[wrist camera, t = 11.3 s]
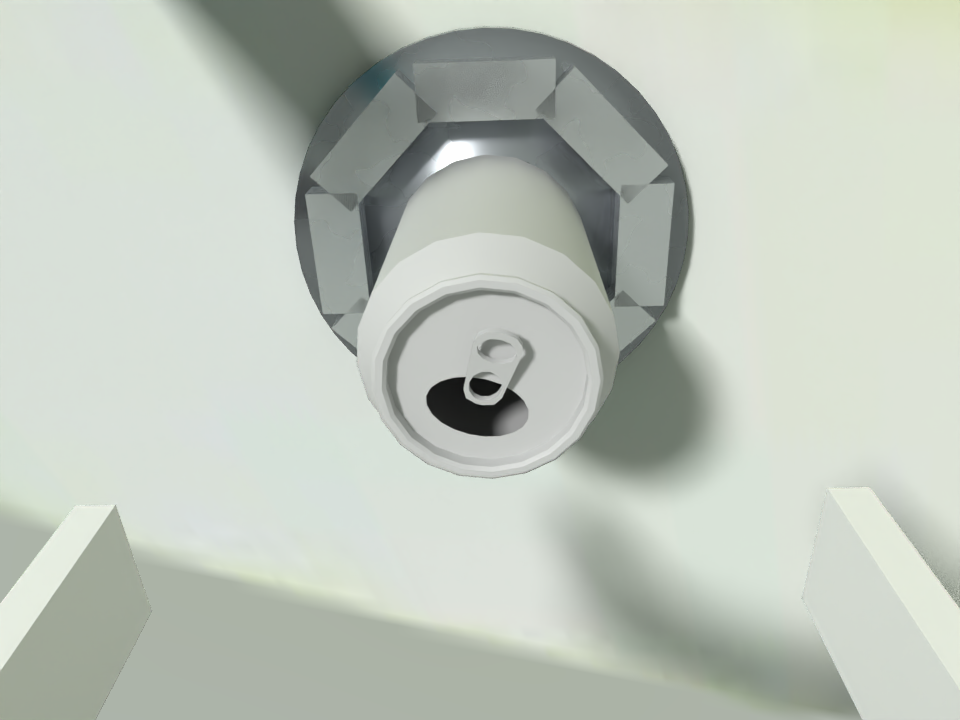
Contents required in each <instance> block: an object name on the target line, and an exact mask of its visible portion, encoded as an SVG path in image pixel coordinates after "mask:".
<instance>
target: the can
mask: <svg viewBox="0 0 960 720" xmlns="http://www.w3.org/2000/svg"><path fill="white" fill-rule="evenodd" d="M619 354H620V352H619V345H618V339H617V332H616V325H615V319H614V314H613V312H612V309H611V306H610V303H609V300H608V297H607V294H606V291H605V288H604V285H603V282H602V279H601V276H600V273H599V270H598V267H597V264H596V262H595V259H594V256H593V253H592V250H591V247H590V244H589V241H588V238H587V235H586V232H585V229H584V226H583V223H582V220H581V217H580V215H579V213H578V212H577V210H576V208H575V206H574V204H573V202H572V200H571V199H570V197H569V195H568V193H567V191H566V190H565V189H564V188H563V187H562V186H561V185H559V184H558V183H557V182H556V181H555V180H554V179H553V178H552V177H551V176H550V175H549V174H548V173H547V172H545V171H544V170H542V169H540V168H538V167H536V166H533V165H531V164H529V163H527V162H525V161H522V160H520V159H518V158H514V157H505V156H495V155H480V156H476V157H471V158H467V159H462V160H458V161H454V162H452V163H451V164H449V165H447V166H446V167H444V168H442V169H441V170H439V171H437V172H436V173H434V174H432V175H431V176H429V177H428V178H427V179H426V180H425V181H424V182H423V184H422V185H421V186H420V187H419V188H418V189H417V191H416V192H415V193H414V194H413V195H412V196H411V198H410V199H409V200H408V203H407V205H406V208H405V210H404V213H403V216H402V218H401V221H400V223H399V226H398V228H397V231H396V233H395V236H394V238H393V241H392V243H391V246H390V248H389V251H388V253H387V256H386V258H385V261H384V263H383V266H382V268H381V271H380V273H379V276H378V278H377V281H376V283H375V286H374V288H373V291H372V293H371V296H370V298H369V301H368V304H367V306H366V309H365V311H364V314H363V316H362V319H361V321H360V324H359V326H358V340H357V367H358V369H359V372H360V375H361V378H362V381H363V384H364V387H365V390H366V393H367V396H368V399H369V401H370V402H371V403H372V405H373V406H374V407H375V408H376V410H377V411H378V412H379V415H380V418H381V420H382V421H383V423H384V424H385V425H386V426H387V428H388V429H389V430H390V432H391V433H392V434H393V436H394V437H395V438H396V440H397V441H398V442H399V444H400V445H401V446H403V447H404V448H406V449H407V450H408V451H410V452H411V453H413V454H414V455H415V456H417V457H418V458H420V459H421V460H422V461H424V462H425V463H427V464H429V465H431V466H434V467H437V468H440V469H442V470H445V471H448V472H451V473H453V474H456V475H459V476H470V477H481V478H492V479H493V478H499V477H505V476H511V475H517V474H523V473H527V472H530V471H532V470H534V469H536V468H538V467H540V466H543V465H545V464H547V463H549V462H551V461H554V460H556V459H557V458H558V457H560V456H561V455H562V454H563V453H564V452H565V451H567V450H568V449H569V448H570V447H571V446H572V445H573V444H575V443H576V442H577V441H578V440H579V439H580V438H581V437H582V436H583V434H584V432H585V431H586V429H587V427H588V426H589V424H590V423H591V422H592V421H593V420H594V419H595V417H596V415H597V414H598V412H599V410H600V409H601V407H602V405H603V404H604V402H605V400H606V399H607V397H608V395H609V394H610V392H611V390H612V388H613V383H614V378H615V374H616V369H617V364H618V359H619Z"/></svg>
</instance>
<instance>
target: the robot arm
mask: <svg viewBox="0 0 960 720" xmlns="http://www.w3.org/2000/svg"><path fill="white" fill-rule="evenodd" d="M802 600H803V602H804V604H805V606H806V608H807V610H808V612H809V614H810V616H811V618H812V620H813V622H814V624H815V626H816V628H817V630H818V632H819V634H820V636H821V638H822V640H823V642H824V644H825V646H826V648H827V650H828V652H829V654H830V656H831V658H832V660H833V662H834V664H835V666H836V668H837V670H838V672H839V674H840V676H841V678H842V680H843V682H844V684H845V686H846V688H847V690H848V692H849V694H850V696H851V698H852V700H853V702H854V704H855V706H856V708H857V710H858V712H859V714H860V716H861V718H862V720H960V608H959V607H958V606H957V604H956V603H955V602H954V600H953V599H952V597H951V596H950V595H949V593H948V592H947V591H946V589H945V588H944V587H943V585H942V584H941V583H940V581H939V580H938V579H937V577H936V576H935V574H934V573H933V572H932V570H931V569H930V568H929V566H928V565H927V564H926V562H925V561H924V560H923V558H922V557H921V556H920V554H919V553H918V551H917V550H916V549H915V547H914V546H913V545H912V543H911V542H910V541H909V539H908V538H907V537H906V535H905V534H904V533H903V531H902V530H901V529H900V527H899V526H898V524H897V523H896V522H895V520H894V519H893V518H892V516H891V515H890V514H889V512H888V511H887V510H886V508H885V507H884V506H883V504H882V503H881V501H880V500H879V499H878V497H877V496H876V495H875V493H874V492H873V491H872V489H871V488H870V487H844V488H827V491H826V495H825V499H824V504H823V508H822V512H821V516H820V521H819V525H818V529H817V534H816V538H815V542H814V547H813V551H812V555H811V559H810V564H809V568H808V572H807V577H806V581H805V585H804V590H803V594H802ZM151 612H152V610H151V607H150V604H149V601H148V598H147V595H146V592H145V590H144V587H143V584H142V581H141V578H140V575H139V572H138V569H137V566H136V563H135V560H134V557H133V554H132V551H131V549H130V546H129V543H128V540H127V537H126V534H125V531H124V528H123V525H122V522H121V519H120V516H119V513H118V510H117V508H116V505H85V506H74V508H73V509H72V510H71V512H70V513H69V514H68V516H67V517H66V518H65V519H64V521H63V522H62V523H61V525H60V526H59V527H58V529H57V530H56V531H55V533H54V534H53V535H52V536H51V538H50V539H49V540H48V542H47V543H46V544H45V546H44V547H43V548H42V549H41V551H40V552H39V553H38V555H37V556H36V557H35V559H34V560H33V561H32V563H31V564H30V565H29V566H28V568H27V569H26V570H25V572H24V573H23V575H22V576H21V577H20V578H19V579H18V581H17V582H16V583H15V585H14V586H13V587H12V589H11V590H10V591H9V593H8V594H7V595H6V596H5V598H4V599H3V600H2V602H1V603H0V720H96V718H97V716H98V714H99V712H100V710H101V708H102V706H103V704H104V702H105V701H106V699H107V697H108V695H109V693H110V691H111V689H112V687H113V685H114V683H115V681H116V679H117V677H118V676H119V674H120V672H121V669H122V668H123V666H124V664H125V662H126V660H127V658H128V656H129V654H130V653H131V651H132V649H133V647H134V645H135V643H136V641H137V639H138V637H139V635H140V633H141V631H142V630H143V628H144V626H145V623H146V622H147V620H148V618H149V616H150V614H151Z"/></svg>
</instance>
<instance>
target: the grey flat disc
mask: <svg viewBox="0 0 960 720" xmlns="http://www.w3.org/2000/svg"><path fill="white" fill-rule="evenodd" d="M480 155H495V156H505V157H514V158H518V159H520V160H522V161H525V162H527V163H529V164H531V165H533V166H536V167H538V168H540V169H542V170H544V171H545V172H547V173H548V174H549V175H550V176H551V177H552V178H553V179H554V180H555V181H556V182H557V183H558V184H559V185H561V186H562V187H563V188H564V189H565V190H566V191H567V193H568V195H569V197H570V199H571V200H572V202H573V204H574V206H575V208H576V210H577V212H578V213H579V215H580V217H581V220H582V223H583V226H584V229H585V232H586V235H587V238H588V241H589V244H590V247H591V250H592V253H593V256H594V259H595V262H596V264H597V267H598V270H599V273H600V276H601V279H602V282H603V285H604V288H605V291H606V294H607V297H608V300H609V303H610V306H611V309H612V312H613V314H614V319H615V325H616V332H617V339H618V345H619V352H620V354H619V359H618V364H619V363H620V362H621V361H623V360H624V359H625V358H626V357H627V356H628V355H629V354H630V353H631V352H632V351H633V350H634V349H635V348H636V347H637V346H638V345H639V344H640V343H641V342H642V340H643V339H644V338H645V337H646V335H647V334H648V333H649V332H650V330H651V329H652V328H653V327H654V325H655V324H656V322H657V320H658V319H659V317H660V316H661V314H662V312H663V311H664V309H665V308H666V306H667V304H668V301H669V299H670V297H671V295H672V293H673V291H674V288H675V286H676V284H677V281H678V277H679V274H680V271H681V268H682V265H683V261H684V256H685V250H686V244H687V238H688V202H687V193H686V185H685V181H684V177H683V173H682V169H681V165H680V161H679V158H678V156H677V153H676V151H675V149H674V146H673V144H672V141H671V139H670V136H669V135H668V133H667V131H666V129H665V128H664V126H663V124H662V123H661V121H660V119H659V118H658V116H657V114H656V113H655V111H654V110H653V109H652V108H651V106H650V105H649V104H648V103H647V101H646V100H645V99H644V97H643V96H642V95H641V94H640V92H639V91H638V90H637V89H636V88H634V87H633V86H632V85H631V84H630V83H629V82H628V81H627V80H626V79H625V78H624V77H623V76H622V75H621V74H620V73H618V72H617V71H616V70H615V69H613V68H612V67H611V66H609V65H608V64H606V63H605V62H603V61H602V60H601V59H599V58H598V57H596V56H595V55H593V54H592V53H590V52H588V51H586V50H584V49H582V48H580V47H578V46H576V45H574V44H572V43H570V42H568V41H565V40H562V39H559V38H556V37H553V36H550V35H547V34H544V33H541V32H536V31H530V30H525V29H519V28H513V27H487V26H483V27H474V28H465V29H456V30H452V31H448V32H444V33H440V34H437V35H433V36H429V37H426V38H424V39H422V40H419V41H417V42H414V43H412V44H410V45H407V46H405V47H403V48H401V49H399V50H398V51H396V52H394V53H392V54H391V55H389V56H387V57H386V58H384V59H382V60H381V61H379V62H378V63H376V64H375V65H374V66H373V67H372V68H370V69H369V70H368V71H367V72H365V73H364V74H363V75H362V76H360V77H359V78H358V79H357V80H356V81H354V82H353V83H352V84H351V86H350V87H349V88H348V89H347V90H346V91H345V92H344V93H343V94H342V95H341V96H340V97H339V99H338V100H337V101H336V102H335V103H334V105H333V106H332V108H331V109H330V110H329V112H328V113H327V115H326V116H325V118H324V119H323V121H322V122H321V124H320V125H319V127H318V129H317V131H316V133H315V135H314V137H313V139H312V141H311V143H310V145H309V147H308V150H307V153H306V156H305V159H304V162H303V165H302V168H301V171H300V176H299V181H298V187H297V192H296V198H295V220H294V224H295V235H296V246H297V251H298V256H299V260H300V264H301V269H302V272H303V275H304V278H305V280H306V283H307V286H308V289H309V291H310V294H311V296H312V298H313V300H314V302H315V303H316V305H317V307H318V309H319V311H320V313H321V315H322V316H323V318H324V319H325V321H326V322H327V323H328V325H329V326H330V328H331V329H332V331H333V332H334V334H335V335H336V336H337V337H338V338H339V339H340V340H341V341H342V343H343V344H344V345H345V346H346V347H347V348H348V349H349V350H350V352H352V353H353V354H354V355H355V356H356V357H357V340H358V326H359V324H360V321H361V319H362V316H363V314H364V311H365V309H366V306H367V304H368V301H369V298H370V296H371V293H372V291H373V288H374V286H375V283H376V281H377V278H378V276H379V273H380V271H381V268H382V266H383V263H384V261H385V258H386V256H387V253H388V251H389V248H390V246H391V243H392V241H393V238H394V236H395V233H396V231H397V228H398V226H399V223H400V221H401V218H402V216H403V213H404V210H405V208H406V205H407V203H408V200H409V199H410V198H411V196H412V195H413V194H414V193H415V192H416V191H417V189H418V188H419V187H420V186H421V185H422V184H423V182H424V181H425V180H426V179H427V178H428V177H429V176H431V175H432V174H434V173H436V172H437V171H439V170H441V169H442V168H444V167H446V166H447V165H449V164H451V163H452V162H454V161H458V160H462V159H467V158H471V157H476V156H480Z"/></svg>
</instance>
